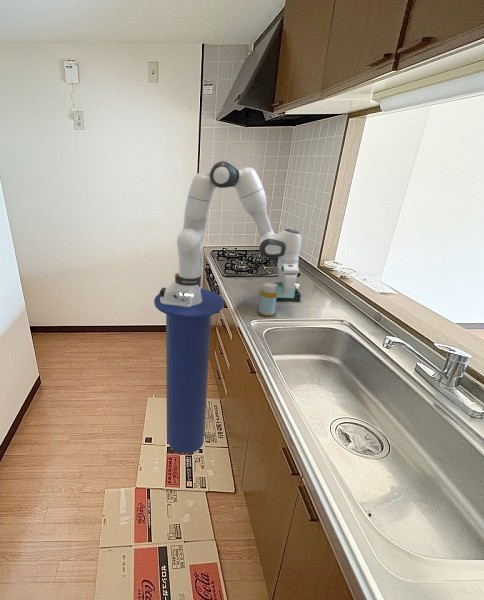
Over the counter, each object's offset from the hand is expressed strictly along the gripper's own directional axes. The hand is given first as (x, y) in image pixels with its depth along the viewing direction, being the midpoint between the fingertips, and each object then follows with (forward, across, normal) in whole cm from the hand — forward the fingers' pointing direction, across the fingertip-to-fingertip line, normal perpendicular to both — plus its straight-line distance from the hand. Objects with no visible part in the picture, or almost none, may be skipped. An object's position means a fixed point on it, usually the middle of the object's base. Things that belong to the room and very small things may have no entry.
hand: (283, 291), depth 158 cm
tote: (+9, -17, +4) cm, 20 cm away
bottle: (+9, +7, -8) cm, 14 cm away
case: (+2, 0, 0) cm, 2 cm away
